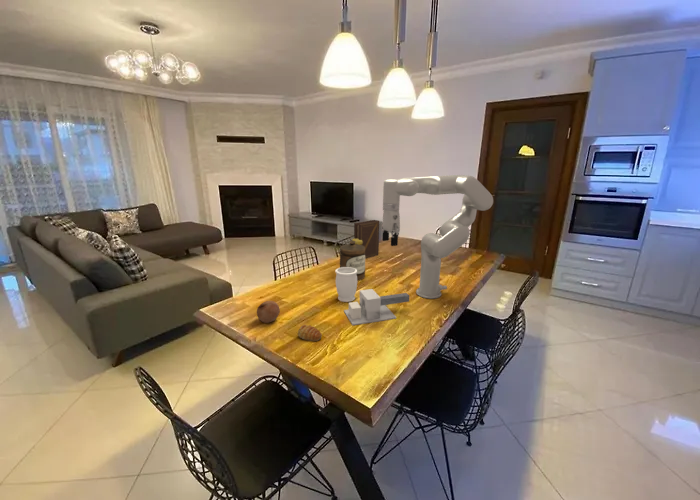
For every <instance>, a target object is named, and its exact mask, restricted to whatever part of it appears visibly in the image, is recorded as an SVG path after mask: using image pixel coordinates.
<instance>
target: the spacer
mask: <svg viewBox="0 0 700 500" xmlns="http://www.w3.org/2000/svg"><path fill="white" fill-rule="evenodd" d="M348 309H349V315H350V316H351V318H352V319H359V318H361V307H360V303H359V302H358V301H353V302H352V301H350V302H348Z"/></svg>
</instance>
